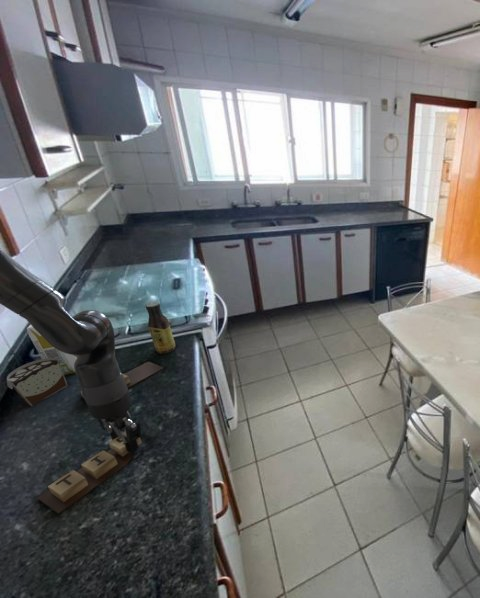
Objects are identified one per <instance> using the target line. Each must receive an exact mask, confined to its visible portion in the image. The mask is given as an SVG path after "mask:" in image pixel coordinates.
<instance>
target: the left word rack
mask: <svg viewBox="0 0 480 598" xmlns="http://www.w3.org/2000/svg"><path fill="white" fill-rule="evenodd" d="M132 453H133V451H132V452H130V453H127V454H126V455H124V456H121V455H119V454H118V453H116V452H114V451H112V450H111V448H110V449H108V450H103V449H102V450H101V451H100V452H98V453H96V454H95V455H93V456H92V457H91V458H89V459H87V460H86V461H84V462H82V463H81V464H80V465H81V468H79V469H78V470H76V471H75V470H74V469H72V470H71V471H69V472H67V473H66V474H65V475H63V476H61V477H60V478H58V479H57V480H56V481H54V482H52V483H51V484H49V485H48V486H47V488H48V490H46V491H45V492H44V493H42V494H40V495H39V496H37V497H36V498H37V500H38V501H39V502H40V503H42V504H43V505H44V506H46V507H47V508H49V509H50V510H51V511H53V512H55V513H56V514H57V515H59V516H60V515H62V514H63V513H64V512H65V511H67V510H68V509H69V508H70V507H72V506H74V505H75V504H76V503H77V502H79V501H80V500H81V499H83V498H84V497H85V496H87V495H88V494H89V493H90V492H92V491H93V490H94V489H96V488H97V487H98V486H100V485H101V484H102V483H103V482H105V481H107V480H108V479H109V478H111V477H112V476H113V475H114V474H115V473H117V472H118V471H119V470H121V469H122V468H123V467H125V466H126V465H127V464H129V463H130V460H131V457H132Z"/></svg>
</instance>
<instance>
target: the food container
mask: <svg viewBox="0 0 480 598" xmlns="http://www.w3.org/2000/svg"><path fill="white" fill-rule="evenodd" d="M60 363H62V362H61V360H60V359H58V358H45V359H42V358H40V359H36V360H33V361H31V362H28V363H25V364H23V365H21V366H19V367H17V368H15V369H13V370H12V371H11V372H10V373H9V374H7V376H6V384H7V385H6V386H7V387H8V388H9V389H11V390H13V389H14V391H16V393H17V394H18V395H19V396H20V397H21V399H23V401H24V402H25V403H26V404H27V405H28V406H30V407H33V406H34V405H36V404H38V403H40V402H41V401H43V400H45V399H47V398H49V397H51V396H52V395H54V394H56V393H58V392H59V391H62V390H63V389H65V388H67V387H68V386H69V385H68V382H67V379H66V377H65V375H64V374H63V371H62V368H61V365H60Z"/></svg>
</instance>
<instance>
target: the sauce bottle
mask: <svg viewBox="0 0 480 598" xmlns="http://www.w3.org/2000/svg"><path fill="white" fill-rule="evenodd" d="M145 309H146V310H147V314H148V322H147V327H148V328H147V329H148V330H149V331H148V332H149V334H150V337H151V340H152V343H153V346H154V349H155V351H156V353H158V354H161V355H162V354H163V355H164V354H168V353H171V352H173V351H174V350H175V349H176V348H177V347H176V342H175V338H174V335H173V331H172V328H171V324H170V323H169V319H168V317H167V316H166V315H164V314H163V311H162V310H161V309H162V308H161V303H160V302H159V301H150V302H147V303H146V304H145Z"/></svg>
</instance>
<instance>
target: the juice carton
mask: <svg viewBox="0 0 480 598" xmlns="http://www.w3.org/2000/svg"><path fill="white" fill-rule="evenodd" d="M26 331H27V335H28V337H29V339H30V340H31V342H32V344H33V346H34V348H35V350H36V351H37V353H38V355H39V356H40V359H45V358H58V359H60V360H61V362H62V363H60V365H61V368H62V371H63V374H64V376H67V375H71V374H76V372H75V369H74V363H75V361H76V359H77V357H78V355H71V354H67V353H64V352H61V351H59V350H57V349H56V348H54V347H53V346H52V345H50V344H49V343H48V342H47V341H46V340H45V339H44V338H43V337H42V336H41V335H40V334H39V333H38V332H37V331H36V330H35V329H34V328H33V326H32V325H31V324H29V325H28V326H27V327H26Z"/></svg>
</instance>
